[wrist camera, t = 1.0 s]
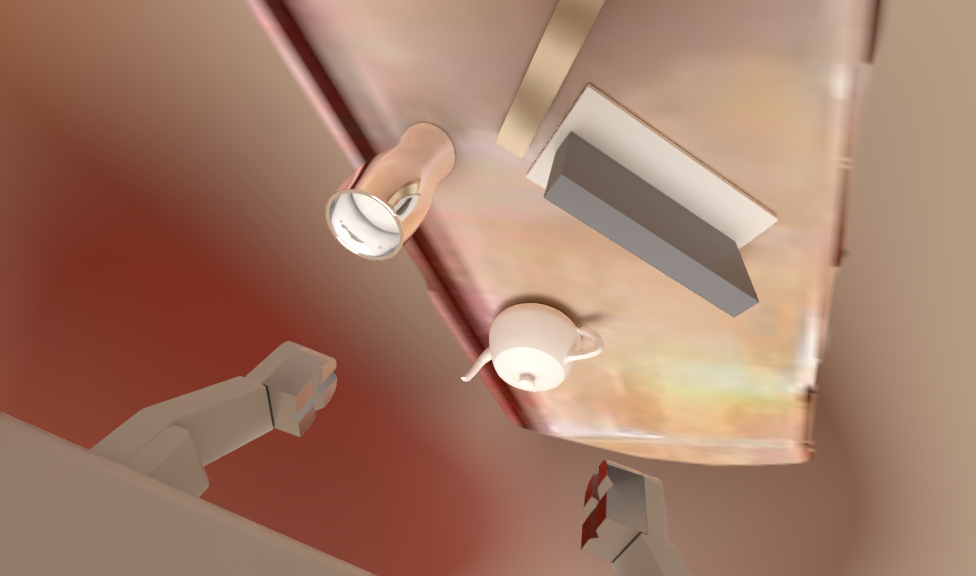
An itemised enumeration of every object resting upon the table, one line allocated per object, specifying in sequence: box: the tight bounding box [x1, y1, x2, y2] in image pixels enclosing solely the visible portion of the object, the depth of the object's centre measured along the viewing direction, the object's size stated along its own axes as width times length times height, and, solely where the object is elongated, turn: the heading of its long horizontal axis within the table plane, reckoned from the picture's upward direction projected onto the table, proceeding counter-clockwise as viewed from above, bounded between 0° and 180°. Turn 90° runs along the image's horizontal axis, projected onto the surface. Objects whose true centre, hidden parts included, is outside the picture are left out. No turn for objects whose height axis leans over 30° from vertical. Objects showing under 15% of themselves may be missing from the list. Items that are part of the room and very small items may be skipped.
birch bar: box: [494, 0, 605, 159], centre depth 30 cm, size 24×3×3 cm, turn 157°
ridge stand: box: [526, 83, 778, 317], centre depth 36 cm, size 10×22×10 cm, turn 62°
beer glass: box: [325, 123, 455, 261], centre depth 37 cm, size 7×7×15 cm
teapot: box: [461, 303, 604, 392], centre depth 52 cm, size 20×12×10 cm, turn 119°
